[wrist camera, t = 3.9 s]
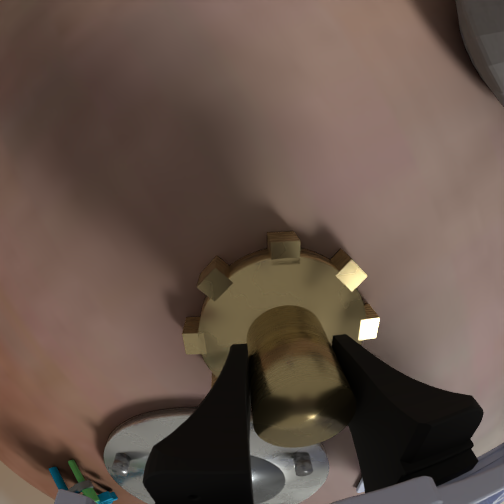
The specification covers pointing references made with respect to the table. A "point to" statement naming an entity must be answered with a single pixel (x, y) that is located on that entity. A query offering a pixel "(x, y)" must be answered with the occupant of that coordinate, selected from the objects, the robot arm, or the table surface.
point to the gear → (82, 485)
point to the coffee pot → (484, 39)
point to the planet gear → (285, 335)
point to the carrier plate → (261, 454)
